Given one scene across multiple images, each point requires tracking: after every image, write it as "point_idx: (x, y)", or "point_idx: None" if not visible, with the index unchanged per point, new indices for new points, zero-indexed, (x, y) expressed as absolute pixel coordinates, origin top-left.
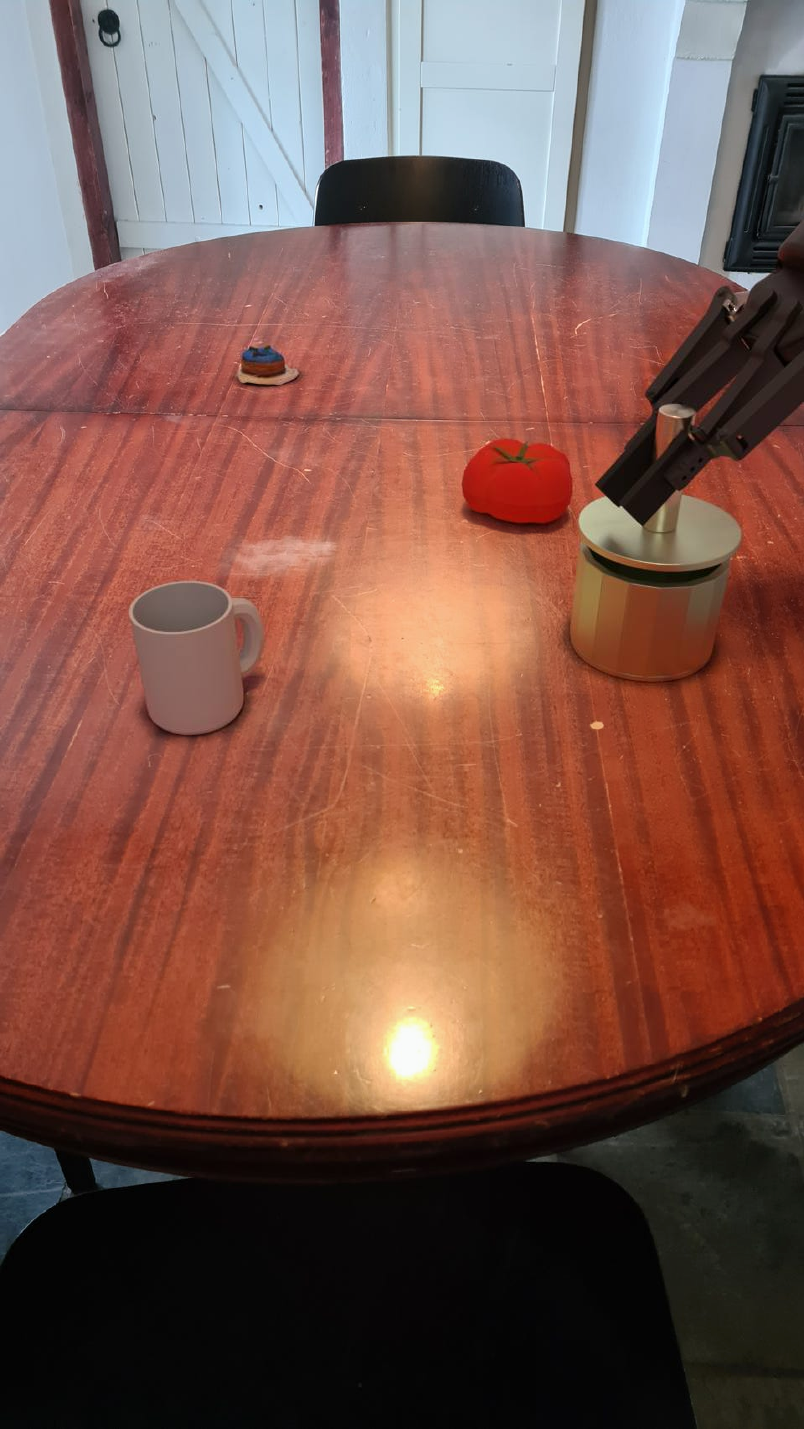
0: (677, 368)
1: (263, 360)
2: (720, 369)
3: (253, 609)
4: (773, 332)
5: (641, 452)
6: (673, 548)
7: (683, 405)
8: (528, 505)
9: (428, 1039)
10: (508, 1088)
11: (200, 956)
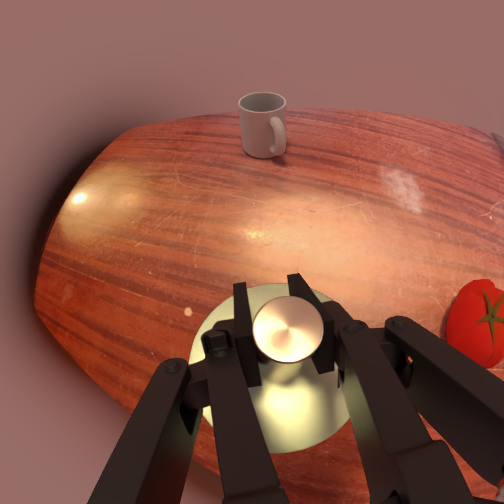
0: (424, 357)
1: None
2: (368, 436)
3: (276, 130)
4: None
5: None
6: None
7: (310, 348)
8: (451, 325)
9: (78, 202)
10: (57, 218)
11: (135, 153)
